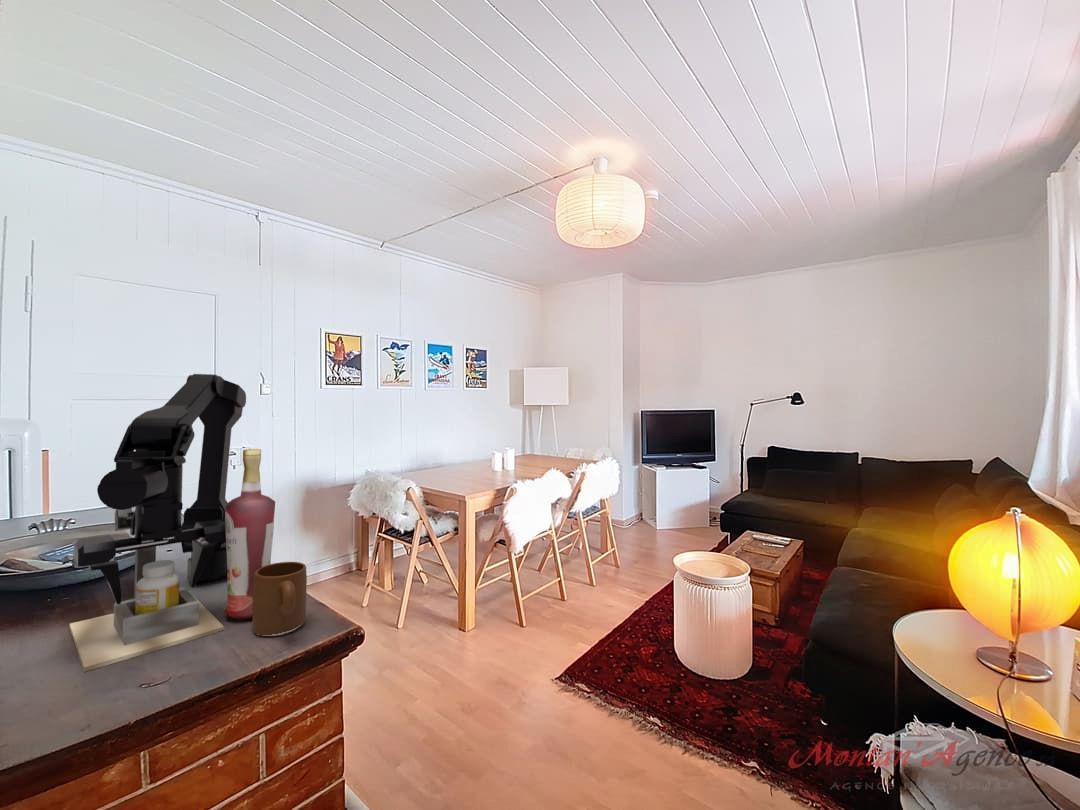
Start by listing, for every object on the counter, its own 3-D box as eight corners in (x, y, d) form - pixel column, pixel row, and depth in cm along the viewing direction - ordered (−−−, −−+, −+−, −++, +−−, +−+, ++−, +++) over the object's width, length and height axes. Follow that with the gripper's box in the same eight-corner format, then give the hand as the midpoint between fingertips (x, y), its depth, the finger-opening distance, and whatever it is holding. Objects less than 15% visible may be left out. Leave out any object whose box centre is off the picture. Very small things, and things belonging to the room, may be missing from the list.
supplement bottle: (138, 636, 71) (140, 572, 71) (131, 624, 75) (132, 564, 75) (182, 624, 76) (184, 564, 76) (173, 613, 79) (175, 556, 79)
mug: (316, 641, 73) (318, 579, 73) (259, 656, 68) (261, 590, 68) (300, 612, 82) (301, 558, 82) (249, 624, 78) (250, 566, 78)
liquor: (279, 614, 81) (283, 450, 81) (229, 628, 76) (233, 453, 76) (264, 601, 86) (268, 447, 86) (217, 613, 81) (221, 449, 81)
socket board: (192, 597, 87) (193, 536, 87) (223, 630, 75) (225, 559, 75) (69, 627, 75) (71, 555, 75) (84, 671, 63) (86, 586, 63)
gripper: (213, 482, 87) (211, 567, 87) (70, 496, 73) (68, 597, 73) (233, 491, 80) (231, 584, 80) (79, 507, 66) (77, 620, 66)
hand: (156, 594), depth 75 cm, fingers open, 9 cm apart
